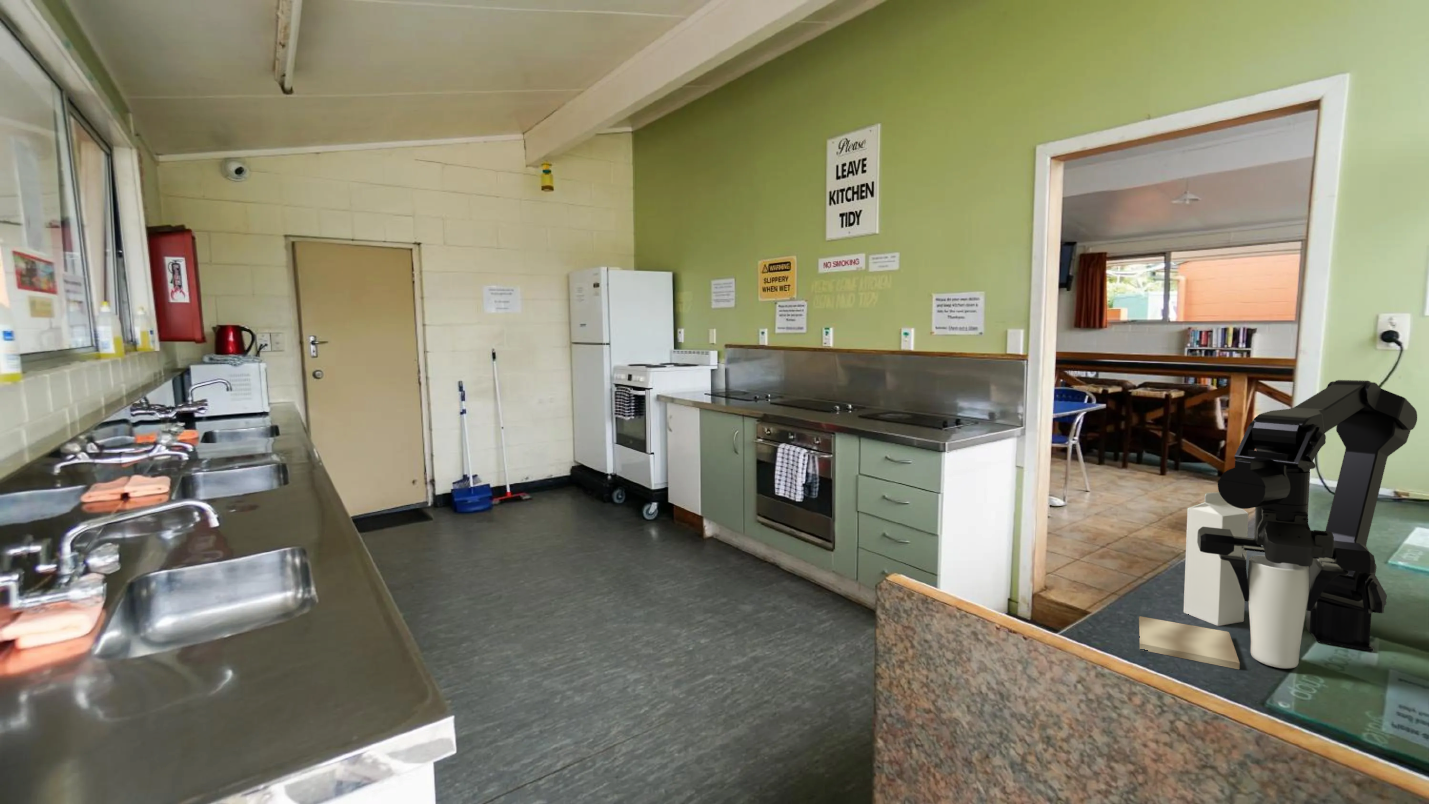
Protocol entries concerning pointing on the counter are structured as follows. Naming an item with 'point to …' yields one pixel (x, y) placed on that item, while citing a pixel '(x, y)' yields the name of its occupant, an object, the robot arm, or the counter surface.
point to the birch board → (1187, 642)
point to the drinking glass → (1277, 610)
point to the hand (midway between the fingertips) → (1276, 605)
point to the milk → (1213, 564)
